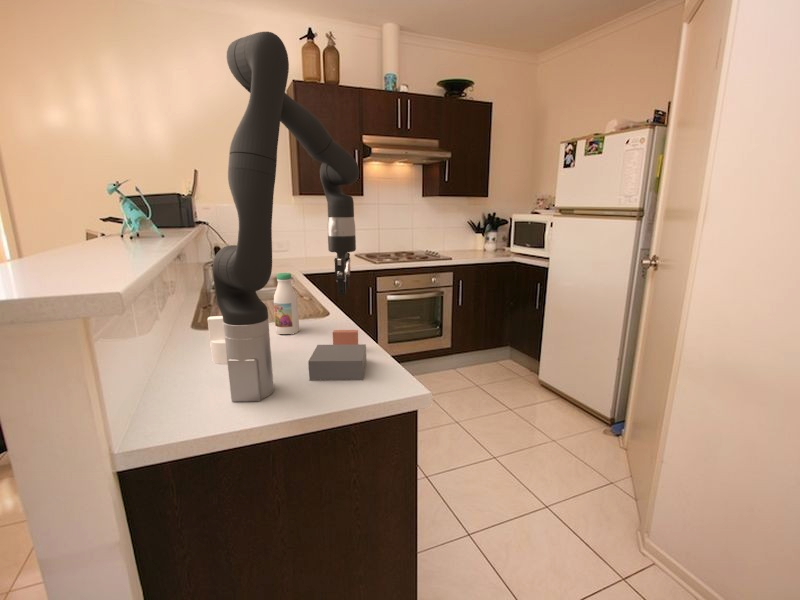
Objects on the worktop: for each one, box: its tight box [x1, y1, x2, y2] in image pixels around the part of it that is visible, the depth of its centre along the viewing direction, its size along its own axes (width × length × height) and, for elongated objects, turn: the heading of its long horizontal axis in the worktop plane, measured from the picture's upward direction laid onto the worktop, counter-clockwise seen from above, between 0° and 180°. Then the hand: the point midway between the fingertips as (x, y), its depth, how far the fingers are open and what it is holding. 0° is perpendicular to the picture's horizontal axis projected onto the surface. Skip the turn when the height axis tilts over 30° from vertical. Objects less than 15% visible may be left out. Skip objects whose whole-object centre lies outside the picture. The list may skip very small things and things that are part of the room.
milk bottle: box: [273, 272, 300, 335], centre depth 135 cm, size 8×8×20 cm
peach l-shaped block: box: [332, 329, 359, 345], centre depth 109 cm, size 20×8×6 cm, turn 1°
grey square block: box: [307, 343, 367, 381], centre depth 105 cm, size 13×13×5 cm
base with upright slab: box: [207, 315, 228, 365], centre depth 112 cm, size 9×9×12 cm
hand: (343, 291), depth 115 cm, fingers open, 8 cm apart
